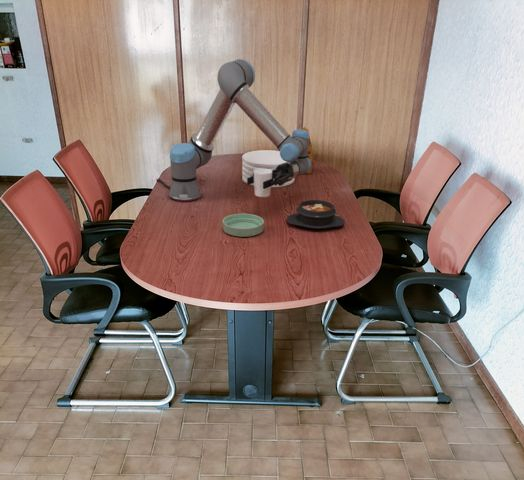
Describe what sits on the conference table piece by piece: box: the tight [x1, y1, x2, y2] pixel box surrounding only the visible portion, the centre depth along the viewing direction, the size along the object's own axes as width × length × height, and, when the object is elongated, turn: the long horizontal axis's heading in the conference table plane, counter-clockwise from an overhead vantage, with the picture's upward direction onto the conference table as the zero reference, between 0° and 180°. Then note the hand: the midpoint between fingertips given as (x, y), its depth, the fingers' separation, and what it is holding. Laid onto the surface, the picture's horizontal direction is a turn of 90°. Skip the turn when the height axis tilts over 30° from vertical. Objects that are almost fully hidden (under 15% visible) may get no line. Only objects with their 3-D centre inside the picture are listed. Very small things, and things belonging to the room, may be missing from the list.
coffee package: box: [301, 126, 314, 175], centre depth 285 cm, size 10×12×22 cm
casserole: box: [286, 199, 345, 230], centre depth 223 cm, size 25×19×8 cm
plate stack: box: [241, 149, 296, 188], centre depth 274 cm, size 28×28×12 cm
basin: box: [221, 213, 265, 238], centre depth 218 cm, size 17×17×4 cm
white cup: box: [253, 169, 272, 198], centre depth 221 cm, size 8×8×10 cm
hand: (255, 183), depth 217 cm, fingers closed on white cup, 8 cm apart
